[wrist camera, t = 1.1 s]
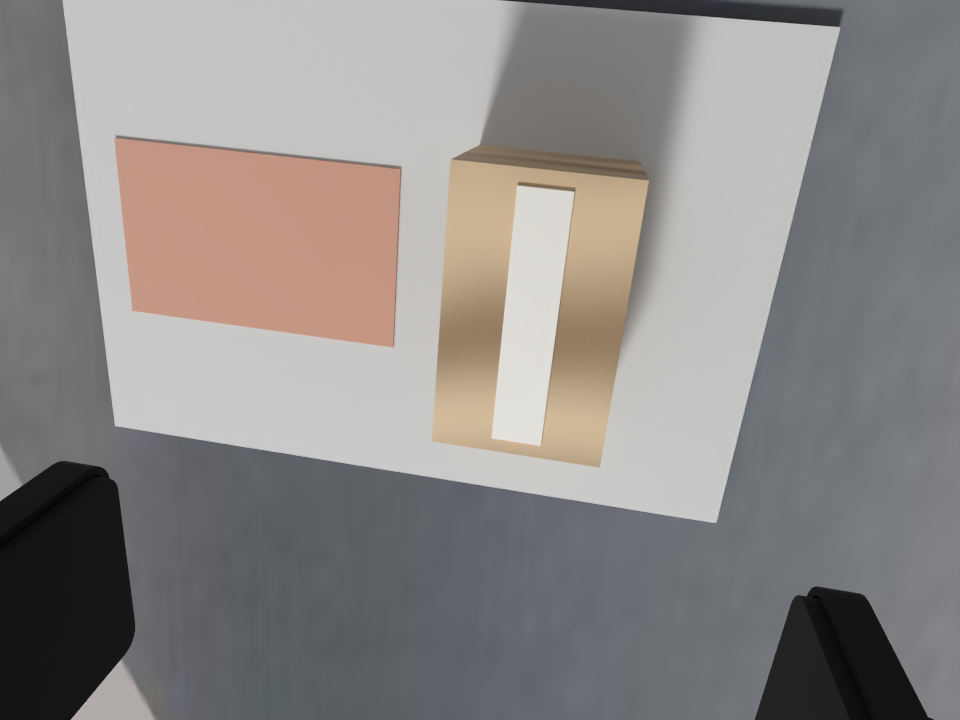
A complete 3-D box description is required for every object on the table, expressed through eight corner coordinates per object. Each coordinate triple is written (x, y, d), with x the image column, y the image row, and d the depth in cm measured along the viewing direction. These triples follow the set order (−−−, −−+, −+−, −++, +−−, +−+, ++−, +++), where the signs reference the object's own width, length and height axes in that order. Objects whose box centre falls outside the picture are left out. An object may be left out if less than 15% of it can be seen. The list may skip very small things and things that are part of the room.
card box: (479, 144, 25) (449, 159, 20) (640, 161, 24) (649, 181, 19) (460, 382, 28) (431, 442, 23) (600, 402, 27) (599, 469, 23)
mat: (835, 28, 22) (841, 26, 21) (714, 516, 29) (716, 524, 28) (68, -33, 25) (56, -35, 25) (121, 421, 32) (113, 426, 31)
